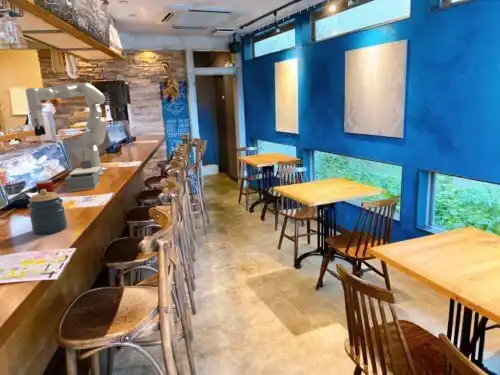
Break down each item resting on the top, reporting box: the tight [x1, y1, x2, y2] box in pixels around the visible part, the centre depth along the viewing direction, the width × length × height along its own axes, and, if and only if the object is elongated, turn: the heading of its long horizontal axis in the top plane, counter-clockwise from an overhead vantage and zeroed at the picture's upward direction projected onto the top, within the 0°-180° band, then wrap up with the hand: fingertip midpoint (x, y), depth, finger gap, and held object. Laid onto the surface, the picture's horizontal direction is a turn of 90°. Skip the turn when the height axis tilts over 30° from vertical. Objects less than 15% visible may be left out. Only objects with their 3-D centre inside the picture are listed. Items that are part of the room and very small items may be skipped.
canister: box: [27, 189, 68, 236], centre depth 153 cm, size 13×13×18 cm
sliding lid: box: [68, 160, 102, 176], centre depth 244 cm, size 20×16×6 cm
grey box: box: [64, 171, 101, 192], centre depth 235 cm, size 20×16×8 cm
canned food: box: [35, 179, 55, 194], centre depth 205 cm, size 8×8×11 cm
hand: (40, 135), depth 240 cm, fingers open, 9 cm apart
